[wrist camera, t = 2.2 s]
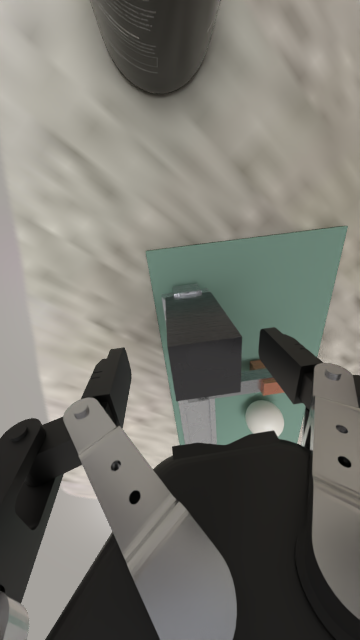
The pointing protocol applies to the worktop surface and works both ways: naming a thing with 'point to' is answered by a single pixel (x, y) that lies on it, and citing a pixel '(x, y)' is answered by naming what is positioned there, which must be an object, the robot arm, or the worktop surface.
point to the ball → (264, 417)
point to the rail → (196, 412)
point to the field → (255, 304)
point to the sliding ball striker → (208, 350)
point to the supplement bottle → (156, 39)
